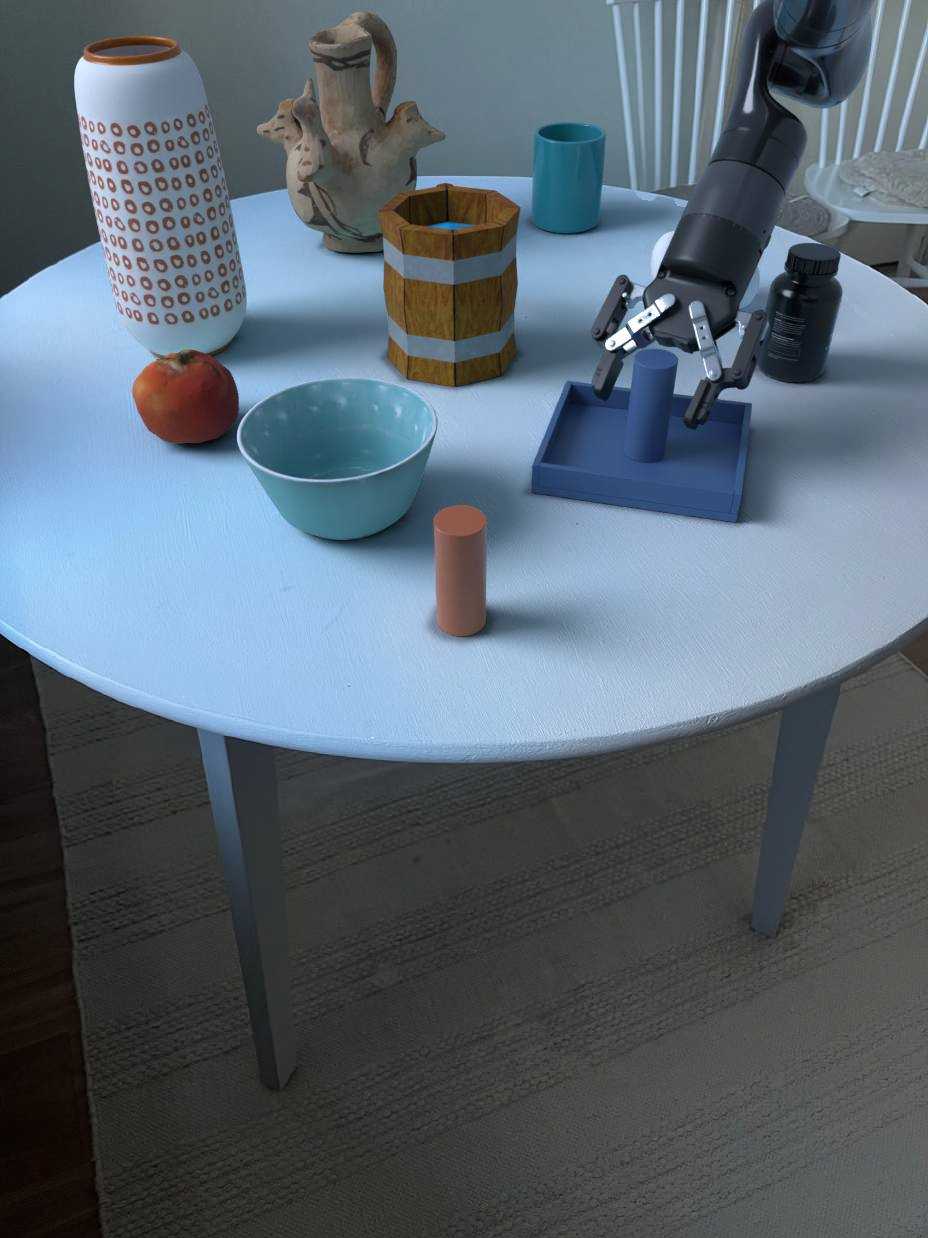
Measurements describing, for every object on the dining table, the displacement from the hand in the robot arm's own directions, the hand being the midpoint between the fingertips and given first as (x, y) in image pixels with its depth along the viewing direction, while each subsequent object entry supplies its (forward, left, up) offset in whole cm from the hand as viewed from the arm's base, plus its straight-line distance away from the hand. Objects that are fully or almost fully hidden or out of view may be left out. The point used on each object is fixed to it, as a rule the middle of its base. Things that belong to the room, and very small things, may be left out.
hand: (643, 411), depth 85 cm
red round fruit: (+41, +5, -6) cm, 41 cm away
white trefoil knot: (-1, -32, -6) cm, 33 cm away
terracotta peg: (+10, +24, -6) cm, 26 cm away
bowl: (+23, +13, -6) cm, 27 cm away
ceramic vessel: (+43, -42, -6) cm, 60 cm away
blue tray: (0, -1, -6) cm, 6 cm away
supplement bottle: (-12, -22, -6) cm, 26 cm away
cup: (+18, -58, -6) cm, 61 cm away
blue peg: (0, -1, -5) cm, 5 cm away
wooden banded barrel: (+23, -19, -6) cm, 30 cm away
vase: (+50, -12, -6) cm, 51 cm away
